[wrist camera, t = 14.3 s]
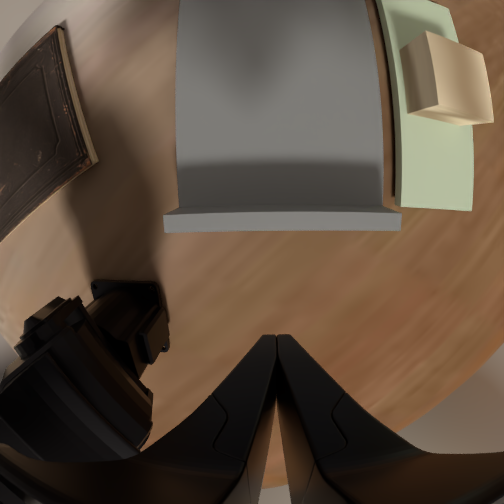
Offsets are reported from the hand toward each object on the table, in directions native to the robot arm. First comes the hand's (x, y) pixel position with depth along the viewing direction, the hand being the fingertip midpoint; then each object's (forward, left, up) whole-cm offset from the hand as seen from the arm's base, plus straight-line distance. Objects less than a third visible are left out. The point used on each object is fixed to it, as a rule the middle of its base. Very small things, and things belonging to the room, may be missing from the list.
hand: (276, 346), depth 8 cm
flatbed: (+1, +12, -12) cm, 17 cm away
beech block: (+12, +12, -10) cm, 20 cm away
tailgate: (+9, +12, -12) cm, 19 cm away
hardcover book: (-26, +10, -13) cm, 31 cm away
